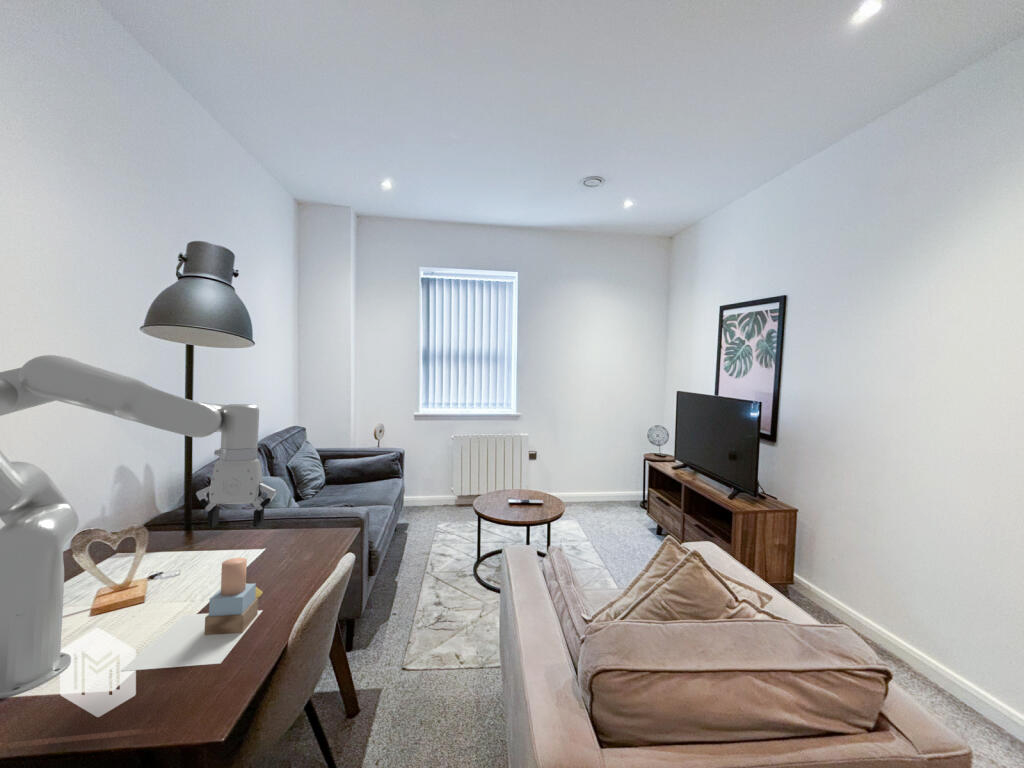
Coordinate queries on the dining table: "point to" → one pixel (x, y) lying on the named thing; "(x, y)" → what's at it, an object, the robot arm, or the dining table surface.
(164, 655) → the mat
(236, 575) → the cylinder
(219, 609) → the tower top
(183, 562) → the dining table surface
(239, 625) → the tower base
